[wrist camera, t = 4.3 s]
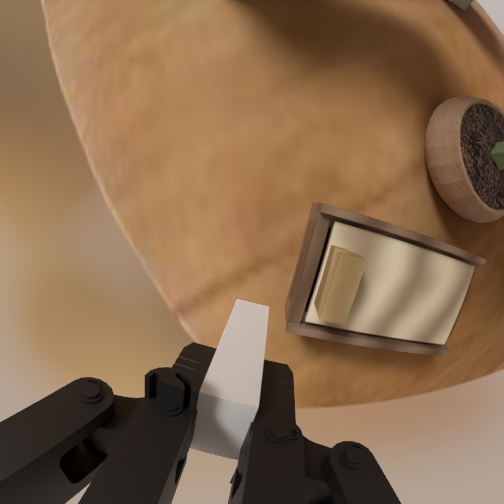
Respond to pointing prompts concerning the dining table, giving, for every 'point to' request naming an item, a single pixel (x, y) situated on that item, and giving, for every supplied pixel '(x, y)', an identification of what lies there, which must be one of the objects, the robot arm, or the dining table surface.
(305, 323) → the box
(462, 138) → the potted plant
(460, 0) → the skincare box
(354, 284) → the lid
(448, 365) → the dining table surface
